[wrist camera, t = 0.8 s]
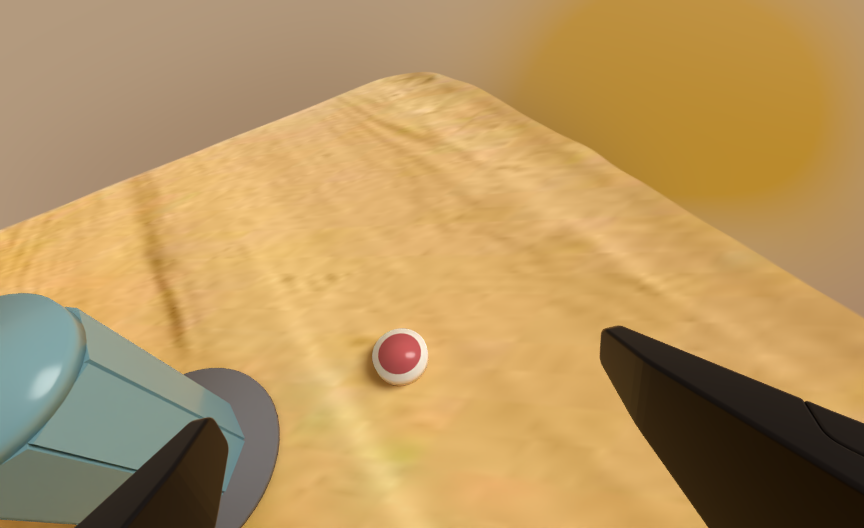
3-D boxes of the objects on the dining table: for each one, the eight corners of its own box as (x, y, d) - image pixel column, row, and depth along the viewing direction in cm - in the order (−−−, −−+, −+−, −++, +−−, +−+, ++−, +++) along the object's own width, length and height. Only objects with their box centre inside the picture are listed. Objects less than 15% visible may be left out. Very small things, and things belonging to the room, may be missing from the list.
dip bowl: (412, 396, 24) (410, 389, 23) (365, 372, 25) (361, 365, 24) (437, 348, 26) (436, 340, 25) (392, 328, 27) (390, 320, 26)
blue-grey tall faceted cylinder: (208, 538, 20) (-54, 525, 10) (94, 519, 21) (-256, 490, 11) (259, 405, 24) (110, 299, 14) (161, 394, 25) (-46, 287, 15)
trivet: (174, 632, 18) (169, 633, 18) (44, 508, 22) (38, 507, 21) (316, 415, 24) (314, 413, 23) (194, 345, 27) (191, 343, 27)
